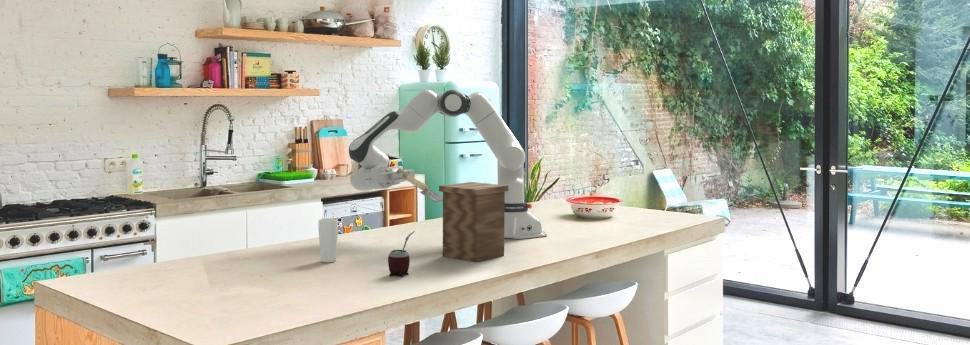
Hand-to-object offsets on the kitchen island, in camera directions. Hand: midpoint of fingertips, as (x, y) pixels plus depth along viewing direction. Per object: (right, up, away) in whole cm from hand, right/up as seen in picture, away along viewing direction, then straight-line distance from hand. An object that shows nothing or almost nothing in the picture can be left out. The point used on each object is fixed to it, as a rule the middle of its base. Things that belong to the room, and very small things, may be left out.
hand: (406, 174), depth 339 cm
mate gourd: (+3, -33, -52) cm, 62 cm away
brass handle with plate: (+5, -5, -4) cm, 8 cm away
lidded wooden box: (+26, -30, -19) cm, 44 cm away
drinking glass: (-25, -31, -31) cm, 50 cm away
